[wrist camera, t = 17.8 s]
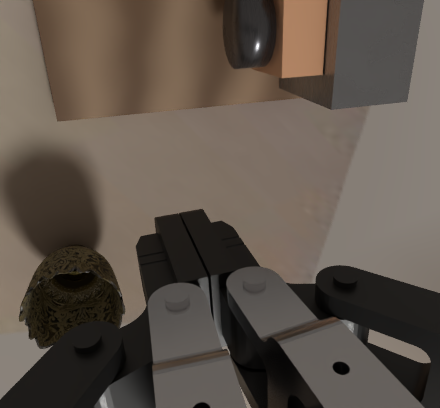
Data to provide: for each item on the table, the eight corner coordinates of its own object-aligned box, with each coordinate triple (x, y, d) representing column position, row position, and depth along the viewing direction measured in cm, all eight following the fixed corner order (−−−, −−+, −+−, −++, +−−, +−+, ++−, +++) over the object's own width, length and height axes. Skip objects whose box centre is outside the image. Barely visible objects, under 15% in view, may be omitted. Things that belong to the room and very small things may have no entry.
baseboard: (58, 116, 32) (57, 121, 31) (25, -47, 28) (22, -50, 26) (336, 90, 38) (345, 93, 37) (349, -48, 34) (360, -50, 32)
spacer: (251, 69, 32) (281, 78, 27) (251, -19, 30) (284, -26, 25) (287, 66, 33) (322, 74, 28) (289, -20, 30) (329, -27, 26)
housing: (279, 88, 35) (331, 109, 28) (283, -50, 31) (347, -68, 23) (341, 82, 37) (406, 101, 29) (354, -50, 32) (435, -67, 25)
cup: (19, 233, 35) (4, 288, 28) (106, 214, 37) (112, 262, 30) (44, 301, 39) (37, 365, 32) (124, 281, 40) (132, 338, 33)
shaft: (223, 64, 31) (246, 73, 27) (221, -11, 29) (246, -14, 24) (363, 54, 34) (404, 61, 30) (371, -15, 32) (417, -18, 27)
